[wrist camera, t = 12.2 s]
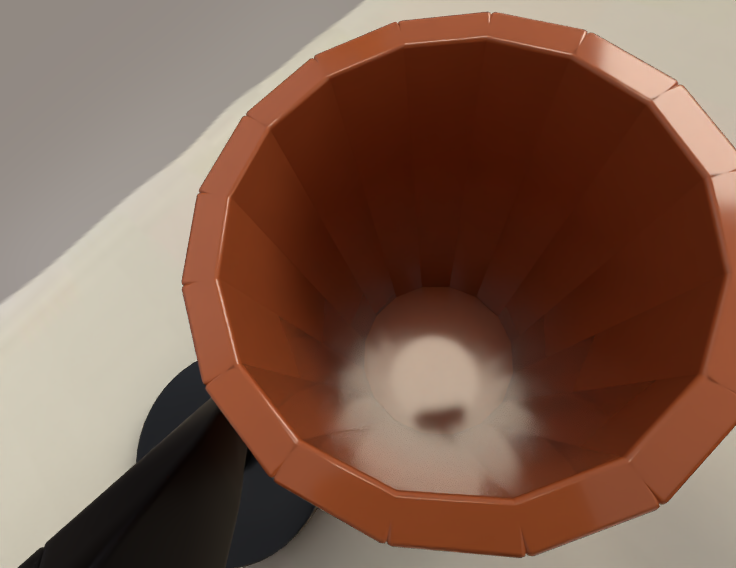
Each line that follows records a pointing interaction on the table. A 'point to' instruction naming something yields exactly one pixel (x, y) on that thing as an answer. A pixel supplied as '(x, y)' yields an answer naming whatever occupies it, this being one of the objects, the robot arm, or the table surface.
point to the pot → (471, 284)
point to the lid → (259, 491)
